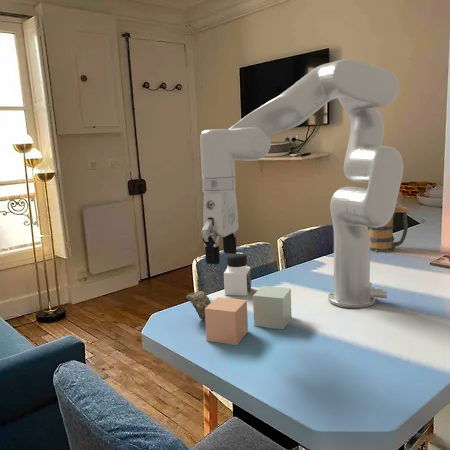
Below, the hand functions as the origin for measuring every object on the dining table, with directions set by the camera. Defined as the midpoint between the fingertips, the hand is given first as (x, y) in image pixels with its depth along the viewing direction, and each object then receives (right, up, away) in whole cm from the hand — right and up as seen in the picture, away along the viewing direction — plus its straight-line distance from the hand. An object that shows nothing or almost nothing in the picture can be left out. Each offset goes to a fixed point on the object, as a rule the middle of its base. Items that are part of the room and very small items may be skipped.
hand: (221, 258), depth 103 cm
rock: (-5, -18, +12) cm, 22 cm away
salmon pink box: (+1, -19, +2) cm, 19 cm away
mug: (+64, -3, +71) cm, 96 cm away
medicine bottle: (+5, -13, +33) cm, 35 cm away
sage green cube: (+13, -17, +9) cm, 23 cm away
